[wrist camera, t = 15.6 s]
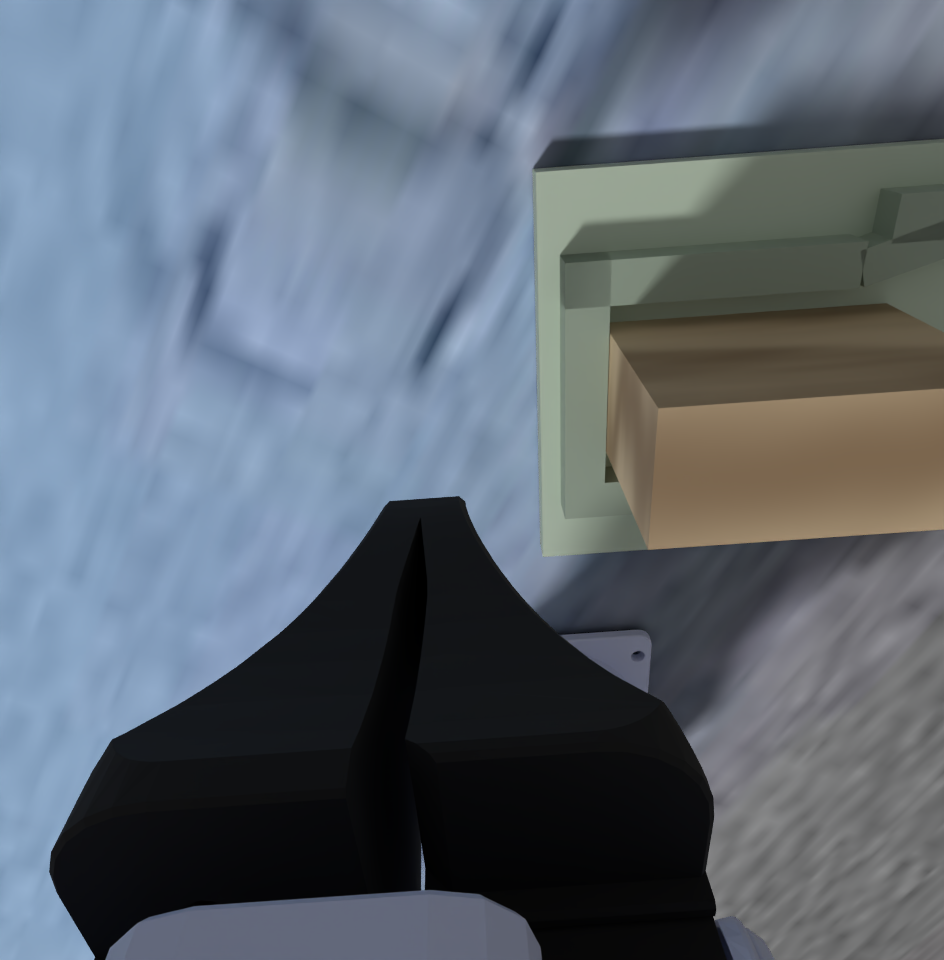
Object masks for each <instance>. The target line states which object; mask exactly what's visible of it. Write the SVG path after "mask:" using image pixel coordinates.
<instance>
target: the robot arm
mask: <svg viewBox="0 0 944 960" xmlns="http://www.w3.org/2000/svg"><path fill="white" fill-rule="evenodd" d="M651 647H652V643H651V639H650V636H649V635H648V633H647V632H645V631H643V630H625V631H611V632H596V633H582V634H568V635H559V634H558V633H557V632H556V631H555V630H554V629H553V628H552V627H550V626H549V625H548V624H547V623H546V622H545V621H544V620H543V619H542V618H541V617H540V616H539V615H538V614H537V613H536V612H535V611H534V610H533V609H532V608H531V607H530V606H529V605H528V604H527V602H526V601H525V600H524V599H523V598H522V597H521V596H520V594H519V593H518V592H517V591H516V590H515V588H514V587H513V586H512V585H511V583H510V582H509V581H508V580H507V578H506V577H505V576H504V574H503V573H502V572H501V570H500V569H499V567H498V566H497V565H496V563H495V562H494V560H493V559H492V557H491V556H490V554H489V552H488V551H487V549H486V548H485V546H484V544H483V543H482V541H481V539H480V538H479V536H478V534H477V532H476V530H475V528H474V526H473V524H472V522H471V520H470V517H469V515H468V512H467V508H466V503H465V501H464V500H463V499H461V498H460V497H459V496H456V497H442V498H428V499H414V500H400V501H389V502H388V504H387V505H386V506H385V507H384V508H383V510H382V511H381V513H380V515H379V516H378V518H377V519H376V521H375V522H374V524H373V525H372V527H371V528H370V530H369V531H368V533H367V534H366V536H365V537H364V539H363V540H362V542H361V543H360V544H359V546H358V547H357V548H356V550H355V551H354V552H353V554H352V555H351V556H350V558H349V559H348V560H347V562H346V563H345V564H344V566H343V567H342V568H341V569H340V571H339V572H338V573H337V574H336V575H335V577H334V578H333V579H332V580H331V581H330V582H329V584H328V585H327V586H326V587H325V588H324V589H323V591H322V592H321V593H320V594H319V595H318V596H317V597H316V599H315V600H314V601H313V602H312V603H311V604H310V605H309V606H308V607H307V608H306V609H305V610H304V611H303V612H302V613H301V614H300V615H299V616H298V617H297V618H296V619H295V620H294V621H293V622H292V623H291V624H289V625H288V626H287V627H286V628H285V629H284V630H283V631H282V632H280V633H279V634H278V635H277V636H276V637H274V638H273V639H272V640H271V641H269V642H268V643H267V644H265V645H264V646H263V647H262V648H260V649H259V650H258V651H257V652H255V653H254V654H253V655H251V656H250V657H249V658H248V659H246V660H245V661H244V662H243V663H241V664H240V665H239V666H237V667H236V668H234V669H233V670H231V671H230V672H229V673H227V674H226V675H224V676H223V677H221V678H220V679H218V680H217V681H215V682H214V683H212V684H211V685H209V686H207V687H206V688H204V689H203V690H201V691H200V692H198V693H196V694H195V695H193V696H192V697H190V698H188V699H187V700H185V701H183V702H182V703H180V704H178V705H177V706H175V707H173V708H171V709H169V710H167V711H166V712H164V713H162V714H160V715H158V716H156V717H154V718H153V719H151V720H149V721H147V722H145V723H143V724H141V725H140V726H138V727H136V728H134V729H132V730H130V731H128V732H127V733H125V734H123V735H121V736H118V737H116V738H114V739H112V740H111V742H110V744H109V745H108V747H107V749H106V750H105V752H104V754H103V755H102V757H101V758H100V760H99V762H98V763H97V765H96V766H95V768H94V770H93V771H92V773H91V775H90V777H89V779H88V781H87V783H86V784H85V786H84V788H83V790H82V792H81V794H80V796H79V798H78V800H77V802H76V804H75V806H74V808H73V810H72V812H71V814H70V816H69V818H68V820H67V822H66V824H65V826H64V828H63V830H62V832H61V834H60V836H59V838H58V840H57V842H56V844H55V846H54V848H53V850H52V851H51V859H50V870H49V873H50V875H51V878H52V881H53V884H54V886H55V889H56V892H57V894H58V895H59V897H60V899H61V901H62V902H63V904H64V906H65V907H66V909H67V911H68V912H69V914H70V916H71V917H72V919H73V921H74V922H75V924H76V926H77V927H78V929H79V931H80V932H81V934H82V936H83V937H84V939H85V941H86V942H87V944H88V946H89V947H90V949H91V951H92V952H93V954H94V956H95V959H94V960H774V958H773V956H772V954H771V952H770V950H769V948H768V946H767V945H766V943H765V942H764V941H763V939H762V938H760V937H759V936H757V935H756V934H755V933H753V932H752V931H751V930H749V929H748V928H745V927H744V925H743V924H742V922H741V921H740V920H739V919H737V918H736V917H733V916H730V917H726V918H722V919H718V920H715V921H714V918H713V916H715V914H716V904H715V898H714V895H713V892H712V889H711V886H710V883H709V880H708V877H707V874H706V865H707V859H708V852H709V846H710V840H711V834H712V828H713V821H714V803H713V795H712V793H711V790H710V787H709V784H708V781H707V778H706V776H705V774H704V771H703V769H702V767H701V765H700V763H699V761H698V759H697V757H696V755H695V753H694V751H693V749H692V748H691V746H690V744H689V742H688V740H687V739H686V737H685V735H684V733H683V732H682V730H681V728H680V727H679V725H678V723H677V722H676V720H675V719H674V717H673V715H672V714H671V712H670V711H669V709H668V708H667V706H666V705H665V704H664V703H663V702H662V701H661V700H659V699H657V698H655V697H654V696H652V695H650V694H648V686H649V673H650V660H651ZM636 651H641V652H640V653H638V654H633V653H634V652H636ZM421 843H422V849H423V856H424V862H425V868H426V869H425V890H422V891H421Z"/></svg>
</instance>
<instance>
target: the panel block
mask: <svg viewBox="0 0 944 960" xmlns="http://www.w3.org/2000/svg"><path fill="white" fill-rule="evenodd" d="M606 453H607V455H608V458H609V460H610V462H611V464H612V467H613V469H614V471H615V474H616V476H617V478H618V481H619V483H620V485H621V488H622V490H623V492H624V495H625V497H626V499H627V502H628V504H629V506H630V509H631V511H632V513H633V516H634V518H635V520H636V523H637V525H638V527H639V530H640V532H641V534H642V537H643V539H644V541H645V544H646V546H647V548H648V550H653V549H667V548H682V547H696V546H711V545H725V544H740V543H754V542H769V541H783V540H798V539H812V538H827V537H841V536H856V535H870V534H885V533H899V532H914V531H928V530H943V529H944V332H942V331H940V330H938V329H936V328H934V327H932V326H930V325H928V324H926V323H924V322H923V321H921V320H919V319H917V318H915V317H913V316H911V315H909V314H907V313H905V312H903V311H901V310H899V309H897V308H895V307H893V306H891V305H889V304H887V303H881V304H867V305H853V306H838V307H824V308H810V309H796V310H781V311H767V312H753V313H738V314H724V315H710V316H696V317H681V318H667V319H653V320H638V321H624V322H610V332H609V364H608V396H607V428H606Z"/></svg>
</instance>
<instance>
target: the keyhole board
mask: <svg viewBox="0 0 944 960" xmlns="http://www.w3.org/2000/svg"><path fill="white" fill-rule="evenodd" d="M533 214H534V263H535V311H536V359H537V407H538V456H539V504H540V544H541V549H542V554H543V557H550V556H564V555H578V554H592V553H607V552H621V551H635V550H648V548H647V546H646V544H645V541H644V539H643V537H642V534H641V532H640V530H639V527H638V525H637V523H636V520H635V518H634V516H633V513H632V511H631V509H630V506H629V504H628V502H627V499H626V497H625V495H624V492H623V490H622V488H621V485H620V483H619V481H618V478H617V476H616V474H615V471H614V469H613V467H612V464H611V462H610V460H609V458H608V455H607V453H606V428H607V396H608V364H609V332H610V322H624V321H638V320H653V319H667V318H681V317H696V316H710V315H724V314H738V313H753V312H767V311H781V310H796V309H810V308H824V307H838V306H853V305H867V304H881V303H887V304H889V305H891V306H893V307H895V308H897V309H899V310H901V311H903V312H905V313H907V314H909V315H911V316H913V317H915V318H917V319H919V320H921V321H923V322H924V323H926V324H928V325H930V326H932V327H934V328H936V329H938V330H940V331H942V332H944V139H933V140H919V141H906V142H892V143H878V144H865V145H851V146H837V147H824V148H810V149H796V150H783V151H769V152H755V153H742V154H728V155H714V156H701V157H687V158H673V159H660V160H646V161H632V162H619V163H605V164H591V165H578V166H564V167H550V168H537V169H533Z"/></svg>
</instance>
